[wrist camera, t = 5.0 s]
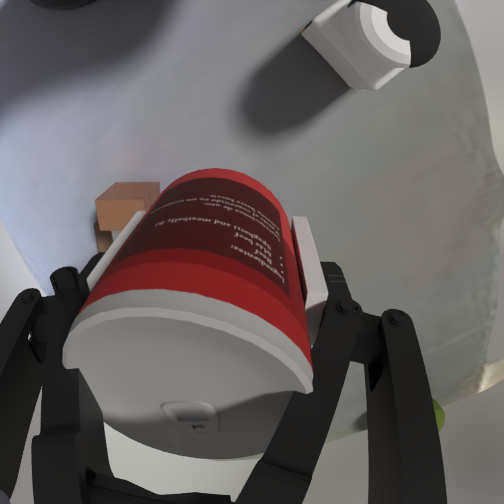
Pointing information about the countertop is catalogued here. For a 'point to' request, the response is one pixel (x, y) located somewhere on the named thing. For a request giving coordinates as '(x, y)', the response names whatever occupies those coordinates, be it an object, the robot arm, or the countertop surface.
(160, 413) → the canned food
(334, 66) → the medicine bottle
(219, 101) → the countertop surface
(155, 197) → the shaft
